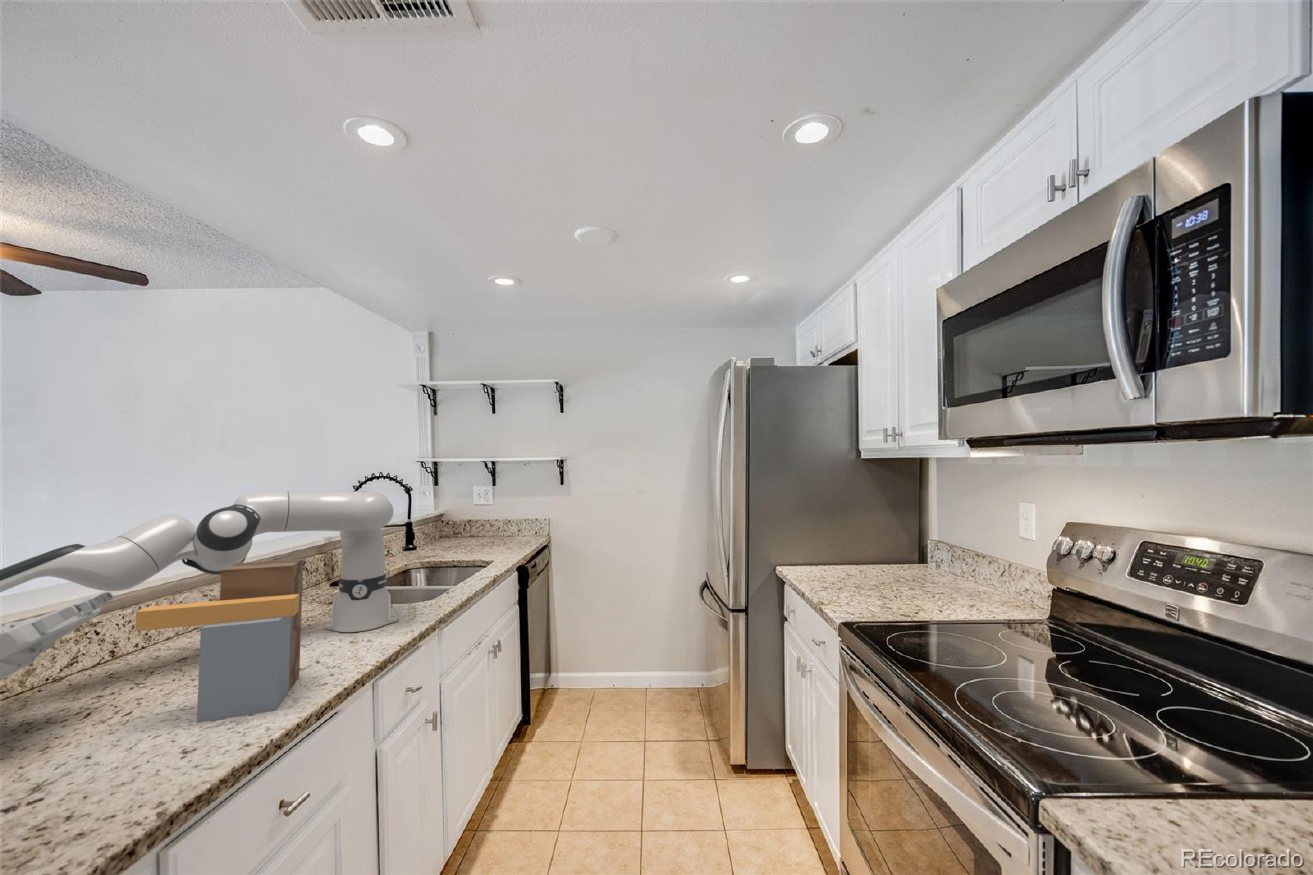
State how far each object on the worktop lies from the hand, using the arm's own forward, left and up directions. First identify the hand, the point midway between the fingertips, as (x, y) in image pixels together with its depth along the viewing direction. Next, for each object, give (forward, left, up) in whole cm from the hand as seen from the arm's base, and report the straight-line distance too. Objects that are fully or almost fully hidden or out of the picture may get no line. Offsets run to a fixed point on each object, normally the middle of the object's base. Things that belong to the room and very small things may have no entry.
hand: (94, 601), depth 91 cm
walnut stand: (-7, +23, -22) cm, 33 cm away
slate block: (+1, +23, -22) cm, 32 cm away
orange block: (+1, +19, -5) cm, 20 cm away
